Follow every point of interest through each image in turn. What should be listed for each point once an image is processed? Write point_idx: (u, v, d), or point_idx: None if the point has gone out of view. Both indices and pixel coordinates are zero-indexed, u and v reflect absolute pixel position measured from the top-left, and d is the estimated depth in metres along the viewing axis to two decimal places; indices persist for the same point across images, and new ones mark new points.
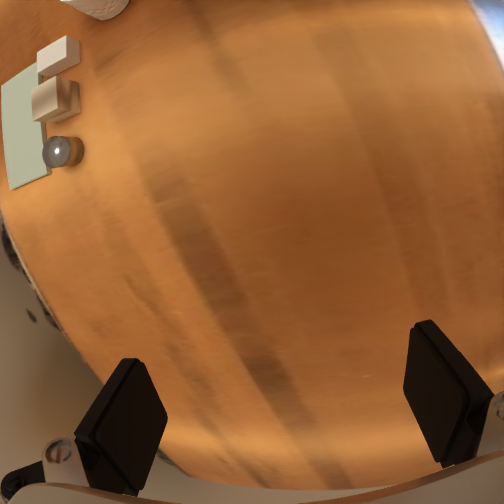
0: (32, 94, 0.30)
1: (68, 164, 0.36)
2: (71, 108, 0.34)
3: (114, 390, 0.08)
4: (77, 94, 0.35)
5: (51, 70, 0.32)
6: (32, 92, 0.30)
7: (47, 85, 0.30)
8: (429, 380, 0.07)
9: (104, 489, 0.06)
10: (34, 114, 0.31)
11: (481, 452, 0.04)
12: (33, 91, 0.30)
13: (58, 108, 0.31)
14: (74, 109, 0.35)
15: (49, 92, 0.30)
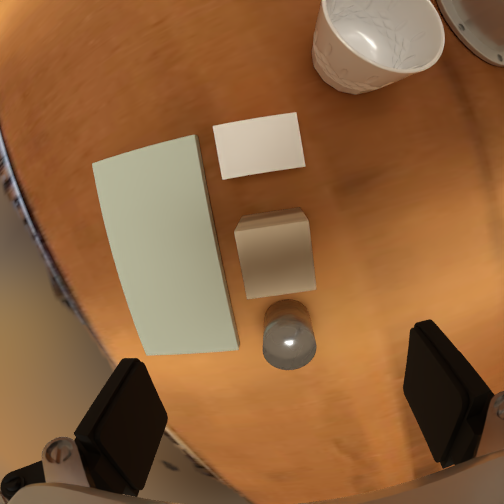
0: (241, 243, 0.21)
1: None
2: None
3: (114, 390, 0.08)
4: None
5: None
6: (239, 238, 0.21)
7: (286, 236, 0.21)
8: (429, 380, 0.07)
9: (104, 489, 0.06)
10: (251, 287, 0.22)
11: (481, 452, 0.04)
12: (243, 237, 0.21)
13: (315, 288, 0.22)
14: None
15: (293, 253, 0.21)
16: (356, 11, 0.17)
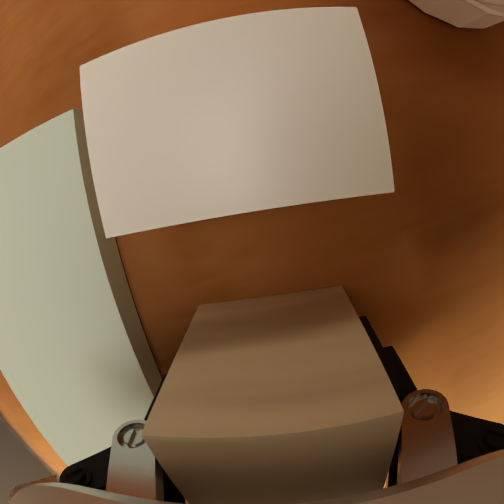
0: (170, 459, 0.05)
1: None
2: None
3: None
4: None
5: None
6: (162, 450, 0.05)
7: (318, 453, 0.05)
8: None
9: None
10: None
11: (406, 457, 0.04)
12: (172, 450, 0.05)
13: None
14: None
15: (335, 479, 0.05)
16: None
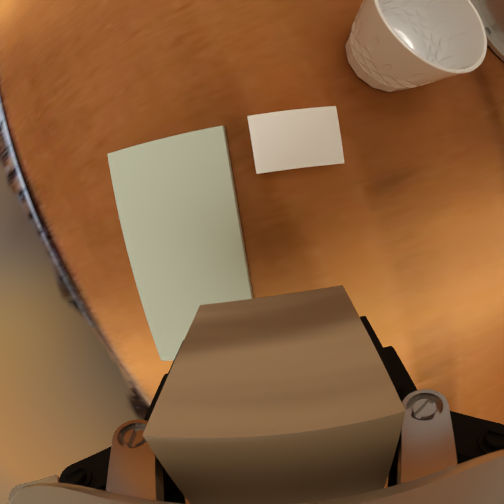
0: (171, 459, 0.05)
1: None
2: None
3: None
4: None
5: None
6: (164, 451, 0.05)
7: (319, 453, 0.05)
8: None
9: None
10: None
11: (406, 457, 0.04)
12: (173, 451, 0.05)
13: None
14: None
15: (336, 479, 0.05)
16: (393, 8, 0.15)
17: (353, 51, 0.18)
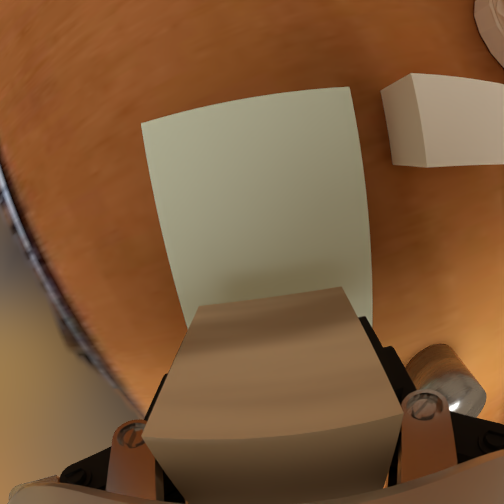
0: (169, 460, 0.05)
1: None
2: None
3: None
4: None
5: None
6: (163, 452, 0.05)
7: (318, 455, 0.05)
8: None
9: None
10: None
11: (406, 457, 0.04)
12: (172, 452, 0.05)
13: None
14: None
15: (335, 480, 0.05)
16: None
17: (498, 22, 0.09)
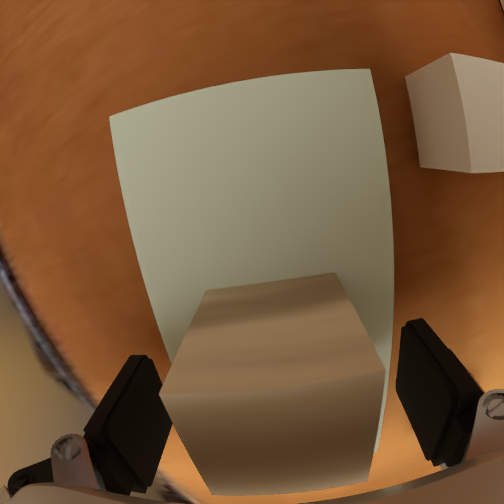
0: (182, 418, 0.06)
1: None
2: None
3: (123, 386, 0.08)
4: None
5: None
6: (177, 409, 0.06)
7: (312, 409, 0.06)
8: (419, 378, 0.07)
9: (112, 487, 0.06)
10: (220, 484, 0.07)
11: (472, 452, 0.04)
12: (185, 408, 0.06)
13: (364, 477, 0.07)
14: None
15: (329, 439, 0.06)
16: None
17: None
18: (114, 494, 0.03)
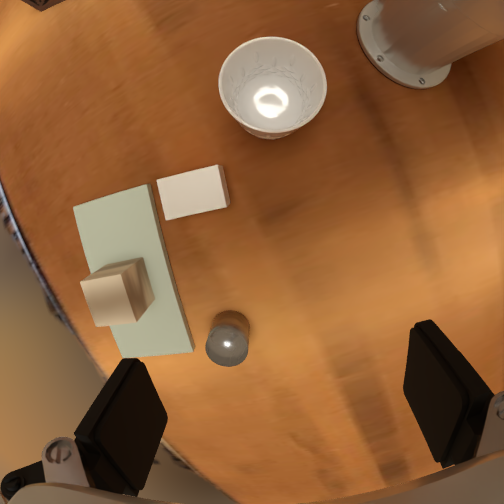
0: (85, 289, 0.27)
1: None
2: (146, 306, 0.31)
3: (114, 390, 0.08)
4: (146, 277, 0.32)
5: None
6: (83, 286, 0.27)
7: (109, 284, 0.27)
8: (429, 380, 0.07)
9: (104, 489, 0.06)
10: (96, 319, 0.28)
11: (481, 452, 0.04)
12: (85, 285, 0.27)
13: (136, 321, 0.28)
14: (149, 303, 0.32)
15: (116, 296, 0.27)
16: (268, 69, 0.25)
17: None
18: (114, 494, 0.03)
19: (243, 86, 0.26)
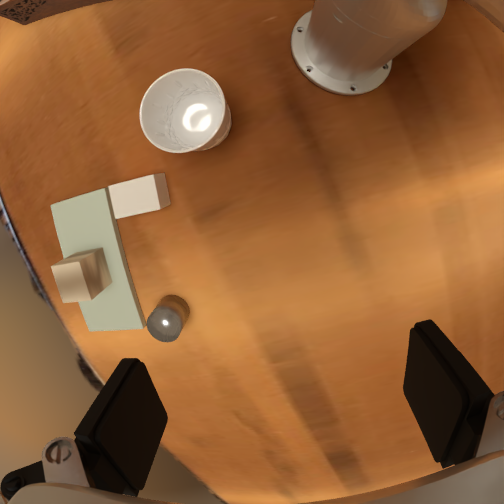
0: (54, 272, 0.33)
1: None
2: (103, 288, 0.36)
3: (114, 390, 0.08)
4: (104, 263, 0.38)
5: None
6: (53, 270, 0.32)
7: (71, 269, 0.32)
8: (429, 380, 0.07)
9: (104, 489, 0.06)
10: (63, 296, 0.33)
11: (481, 452, 0.04)
12: (54, 269, 0.32)
13: (91, 299, 0.33)
14: (106, 285, 0.37)
15: (76, 279, 0.33)
16: (195, 89, 0.29)
17: None
18: (114, 494, 0.03)
19: (176, 105, 0.30)
